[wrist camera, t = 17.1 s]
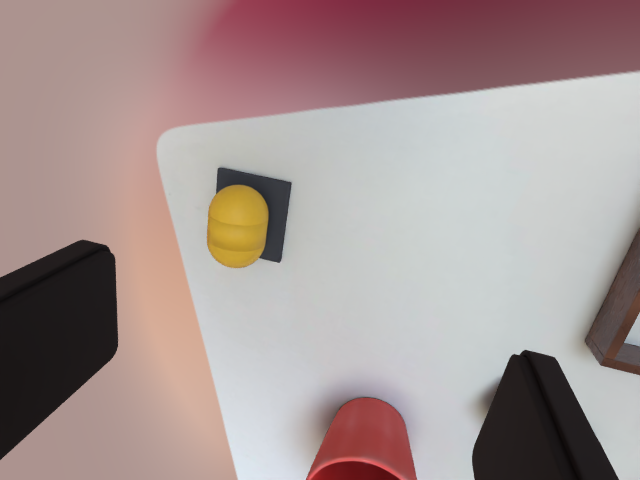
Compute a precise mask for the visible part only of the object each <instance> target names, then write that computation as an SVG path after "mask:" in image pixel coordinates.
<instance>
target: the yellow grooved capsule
mask: <svg viewBox="0 0 640 480" xmlns="http://www.w3.org/2000/svg"><path fill="white" fill-rule="evenodd" d="M267 226H268V207H267V204H266V202H265V200H264V198H263V197H262V195H261V194H259V193H258V192H257V191H256V190H254V189H253V188H251V187H248V186H245V185H231V186H228V187H225V188H224V189H222V190H220V191H219V192H218V193H217V194H216V195H215V196H214V198H213V199H212V201H211V203H210V206H209V212H208V229H207V245H208V248H209V251H210V253H211V255H212V256H213V257H214V258H215V259H216V261H218V262H219V263H221V264H222V265H224V266H227V267H231V268H242V267H246V266H248V265H250V264H252V263H254V262H255V261H256V260H257V259H258V258H259V257H260V255H261V254H262V252H263V250H264V247H265V243H266V234H267Z"/></svg>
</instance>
